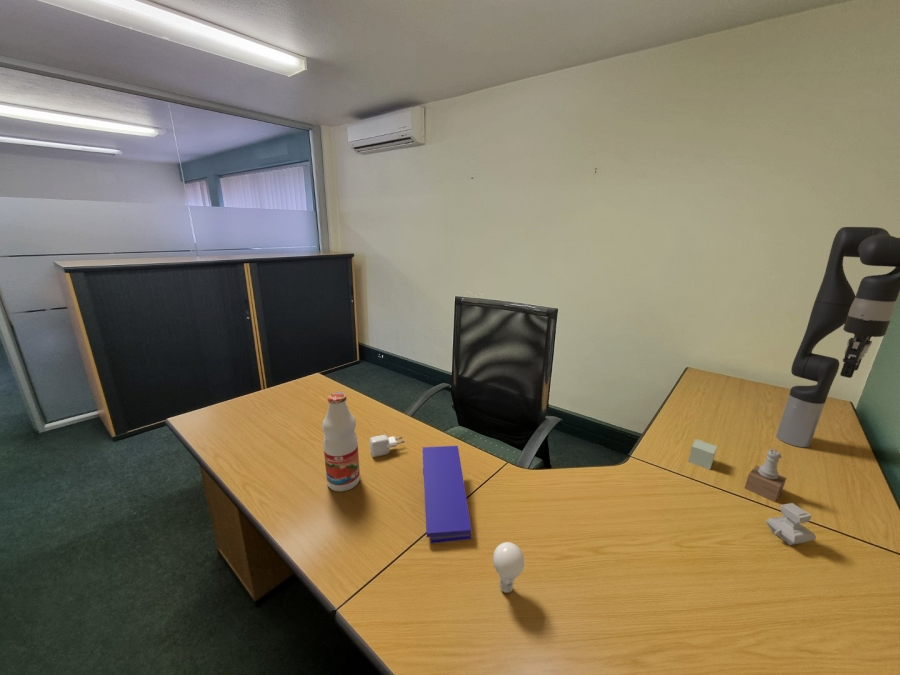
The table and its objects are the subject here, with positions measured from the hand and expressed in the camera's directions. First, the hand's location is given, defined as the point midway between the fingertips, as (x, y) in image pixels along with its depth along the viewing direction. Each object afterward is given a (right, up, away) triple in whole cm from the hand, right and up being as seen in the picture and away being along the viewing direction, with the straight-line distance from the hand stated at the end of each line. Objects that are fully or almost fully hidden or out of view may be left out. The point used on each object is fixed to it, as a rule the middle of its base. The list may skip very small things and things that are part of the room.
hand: (848, 373), depth 99 cm
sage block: (-27, -31, +20) cm, 46 cm away
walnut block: (-18, -35, +7) cm, 40 cm away
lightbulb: (-99, -43, -24) cm, 110 cm away
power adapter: (-132, -29, +22) cm, 137 cm away
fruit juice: (-142, -33, +7) cm, 146 cm away
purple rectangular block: (-112, -36, +1) cm, 118 cm away
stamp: (-26, -40, -10) cm, 49 cm away
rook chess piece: (-18, -31, +6) cm, 36 cm away
